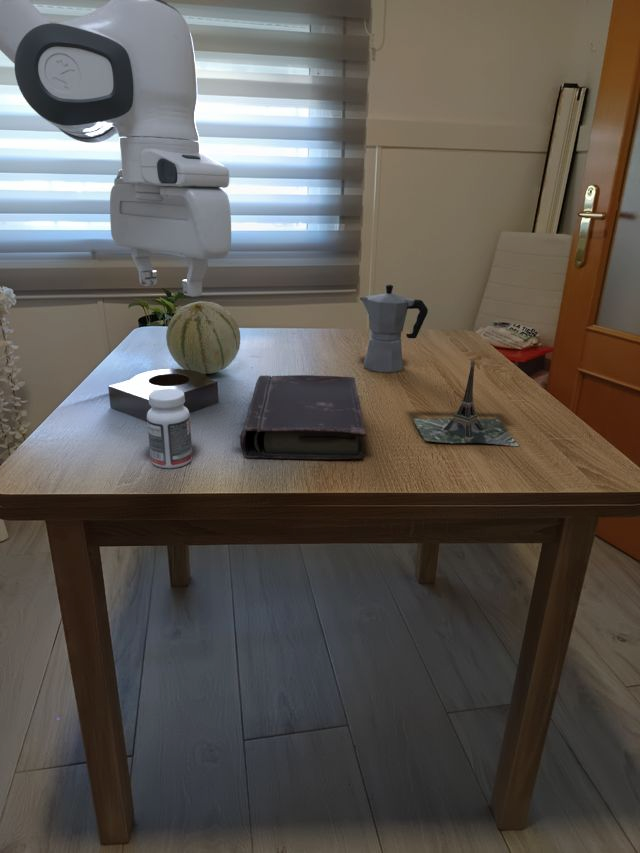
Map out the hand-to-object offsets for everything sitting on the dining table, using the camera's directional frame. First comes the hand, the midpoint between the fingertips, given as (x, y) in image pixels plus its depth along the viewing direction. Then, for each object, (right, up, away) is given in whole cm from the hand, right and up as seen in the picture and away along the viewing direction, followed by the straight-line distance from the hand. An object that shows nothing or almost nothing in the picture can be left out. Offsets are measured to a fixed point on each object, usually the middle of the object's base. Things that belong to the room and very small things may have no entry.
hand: (169, 290), depth 71 cm
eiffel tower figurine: (+42, -18, +22) cm, 51 cm away
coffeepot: (+34, -4, +55) cm, 65 cm away
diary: (+16, -17, +22) cm, 33 cm away
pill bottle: (-2, -22, +9) cm, 24 cm away
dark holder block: (-9, -13, +31) cm, 34 cm away
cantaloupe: (-5, -6, +48) cm, 49 cm away
